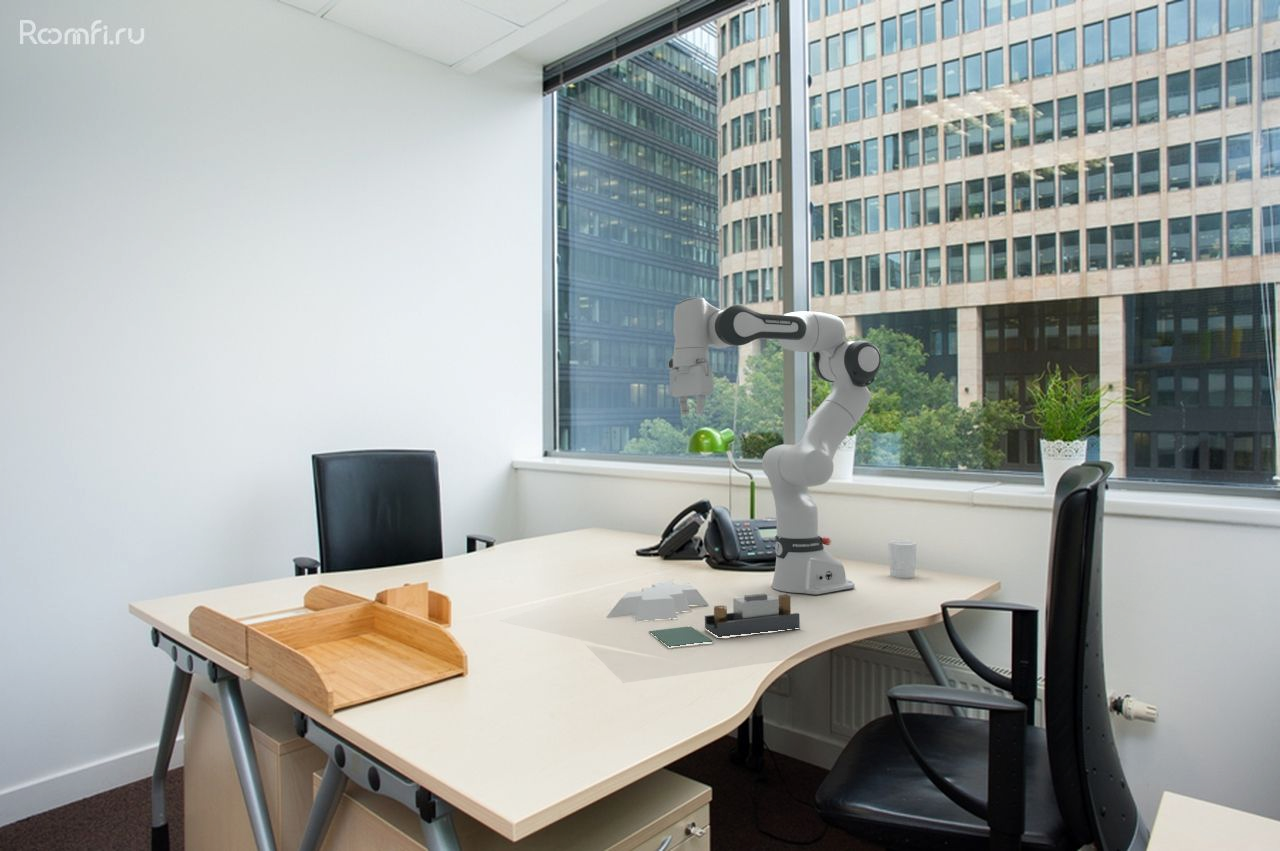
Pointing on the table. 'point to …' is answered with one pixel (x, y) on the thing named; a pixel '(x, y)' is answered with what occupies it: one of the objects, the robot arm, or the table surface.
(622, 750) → the table surface
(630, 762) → the table surface
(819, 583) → the robot arm
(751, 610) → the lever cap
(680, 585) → the white jagged cross block
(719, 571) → the table surface
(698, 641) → the rubber mat
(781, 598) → the dark grey channel holder
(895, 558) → the white cup
